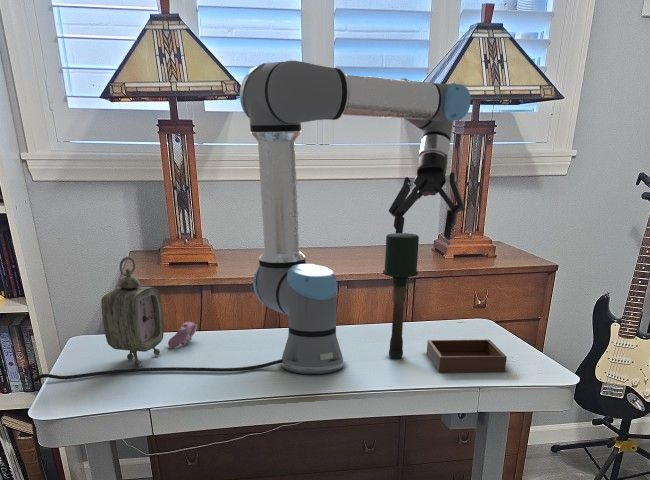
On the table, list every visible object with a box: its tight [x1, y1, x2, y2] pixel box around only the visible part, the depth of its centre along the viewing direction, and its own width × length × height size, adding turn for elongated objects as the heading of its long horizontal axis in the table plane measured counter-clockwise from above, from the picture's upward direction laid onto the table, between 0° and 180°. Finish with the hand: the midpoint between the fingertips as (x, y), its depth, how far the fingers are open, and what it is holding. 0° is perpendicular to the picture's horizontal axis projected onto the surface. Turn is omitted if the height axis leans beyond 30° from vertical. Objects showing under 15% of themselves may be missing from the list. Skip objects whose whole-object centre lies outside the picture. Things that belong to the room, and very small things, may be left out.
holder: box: [426, 339, 507, 373], centre depth 178 cm, size 17×16×4 cm
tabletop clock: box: [100, 256, 165, 368], centre depth 171 cm, size 14×9×25 cm, turn 167°
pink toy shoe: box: [167, 320, 198, 349], centre depth 190 cm, size 10×5×7 cm, turn 171°
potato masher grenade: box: [382, 232, 420, 360], centre depth 175 cm, size 8×9×30 cm
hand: (421, 239), depth 182 cm, fingers open, 13 cm apart
